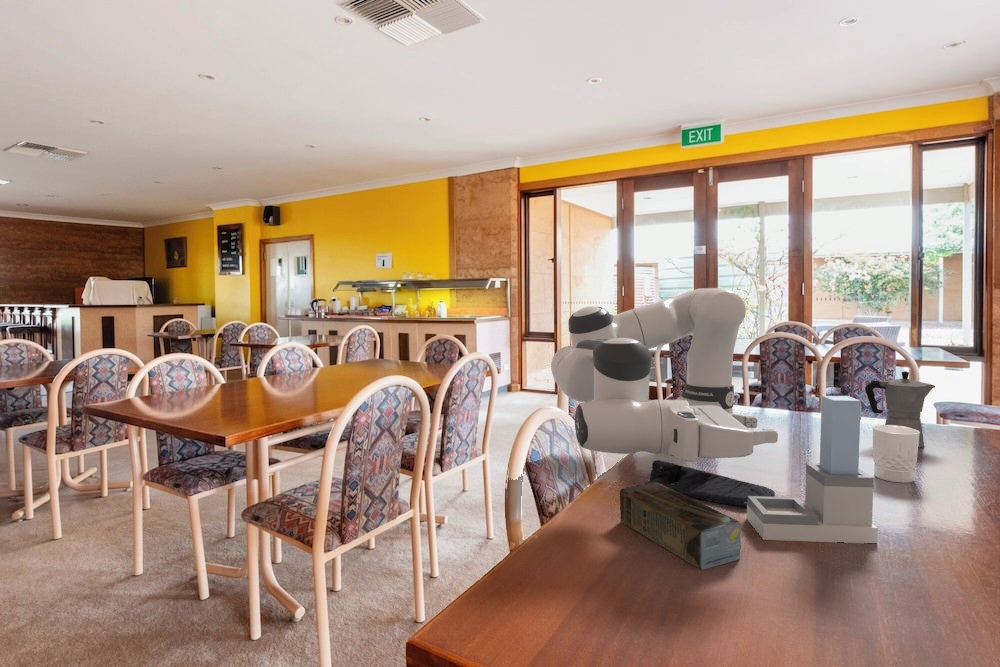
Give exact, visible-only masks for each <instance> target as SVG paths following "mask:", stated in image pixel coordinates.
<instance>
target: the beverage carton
mask: <svg viewBox="0 0 1000 667" xmlns="http://www.w3.org/2000/svg"><path fill="white" fill-rule="evenodd" d="M619 507H620V508H619V511H620V514H619V515H620V523H622V524H624V525H625V526H627V527H629V528H631V529H632V530H634V531H635V532H637V533H639V534H640V535H642V536H644V537H646V538H647V539H649V540H650V541H651V542H654V543H655V544H656V545H658V544H659V545H658V546H660V547H661V548H663V547H664V548H663V549H665V550H667V551H668V552H670V553H672V554H673V555H675V556H677V557H678V558H681V559H682V560H684V561H685V562H687V563H689V564H690V565H693V567H696V568H698V569H700V570H703V571H704V570H706V569H709V568H713V567H717V566H721V565H724V564H725V565H726V564H728V563H731V562H735V561H739V560H741V549H742V545H741V544H742V543H741V531H742V530H741V529H742V528H741V525H742V523H741V522H740V521H739V520H737V519H735V518H733V517H731V516H729V515H727V514H724V513H722V512H720V511H719V510H717V509H715V508H712V507H710V506H709V505H706V504H704V503H702V502H700V501H698V500H695V499H694V498H693V497H691V496H685V495H683V494H681V493H679V492H677V491H675V490H673V489H671V488H669V487H666V486H664V485H662V484H659V483H657V482H651V483H649V484H645V483H644V484H637V485H634V486H629V487H624V488H621V489H620V490H619Z"/></svg>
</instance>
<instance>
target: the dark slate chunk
mask: <svg viewBox="0 0 1000 667" xmlns="http://www.w3.org/2000/svg"><path fill="white" fill-rule="evenodd" d="M651 465H652V466H651V471H650V475H649V480H648V481H647V482H645V483H644V484H649V483H651V482H657V483H659V484H662V485H664V486H666V487H669V488H671V489H673V490H675V491H677V492H679V493H681V494H683V495H685V496H687V497H691V498H696V497H697V498H696V499H699V498H700V499H701V500H706V499H707V500H706V501H708V500H712V501H711V502H714V501H715V502H714V503H719V502H720V503H719V504H722V503H723V505H729V504H730V505H731V506H737V507H747V500H748V496H764V497H775V493H776V492H775V491H774V490H773V488H769V487H767V486H763V485H759V484H756V483H751V482H746V481H743V480H738V479H735V478H731V477H728V476H725V475H720V474H718V473H714V472H713V473H712V472H708V471H705V470H703V469H702V470H701V469H698V468H697V469H696V468H693V467H689V466H686V465H685V466H684V465H681V464H676V463H672V462H668V461H664V460H659V459H656V460H653V461H652V464H651ZM676 482H678V483H676ZM671 483H674V484H671Z"/></svg>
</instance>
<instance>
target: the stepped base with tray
mask: <svg viewBox="0 0 1000 667" xmlns="http://www.w3.org/2000/svg"><path fill="white" fill-rule="evenodd" d="M874 481H875V480H874V477H873V476H871V475H870V474H868V473H866V472H865V471H864V470H862V469H860V468H859V467H858V475H829V474H827V473H826V472H824V471H823V470H821V469H820V462H819V463H817V462H815V463H814V462H811V463H810V462H809V463H808V462H807V463H805V494H804V502H803V501H802V500H801V499H800V498H799V497H793V496H792V497H791V496H773V497H764V496H748V500H747V506H746V520H747V521H748V523H749V524H750V525H751V526H752V527H753V528H755V529H754V530H755V531H756V533H757V534H758V533H759V534H758V535H759V536H760V538H761V537H762V538H761V539H762V540H764V541H787V542H791V541H792V542H811V543H812V542H813V543H814V542H815V543H816V542H817V543H837V542H844V543H843V544H864V543H877V544H878V538H879V537H878V532H879V530H878V529H879V528H878V526H876V525H875V524H873V507H874V504H873V501H874Z"/></svg>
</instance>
